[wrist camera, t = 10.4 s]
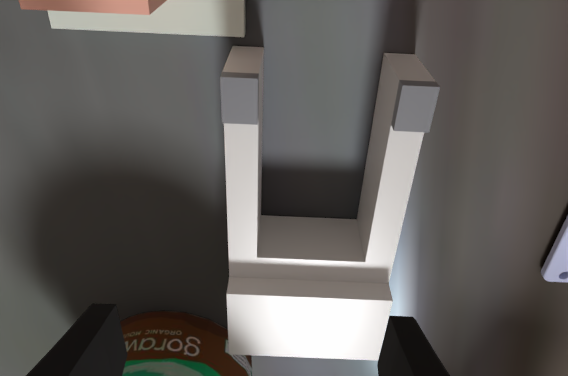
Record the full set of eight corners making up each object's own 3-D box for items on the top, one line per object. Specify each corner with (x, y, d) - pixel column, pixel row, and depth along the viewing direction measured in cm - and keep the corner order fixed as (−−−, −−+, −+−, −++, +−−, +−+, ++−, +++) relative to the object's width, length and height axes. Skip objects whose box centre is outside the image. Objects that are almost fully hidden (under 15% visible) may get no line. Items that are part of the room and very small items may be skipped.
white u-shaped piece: (415, 54, 17) (444, 92, 14) (366, 296, 24) (378, 360, 21) (232, 45, 17) (218, 82, 14) (237, 291, 24) (228, 354, 21)
